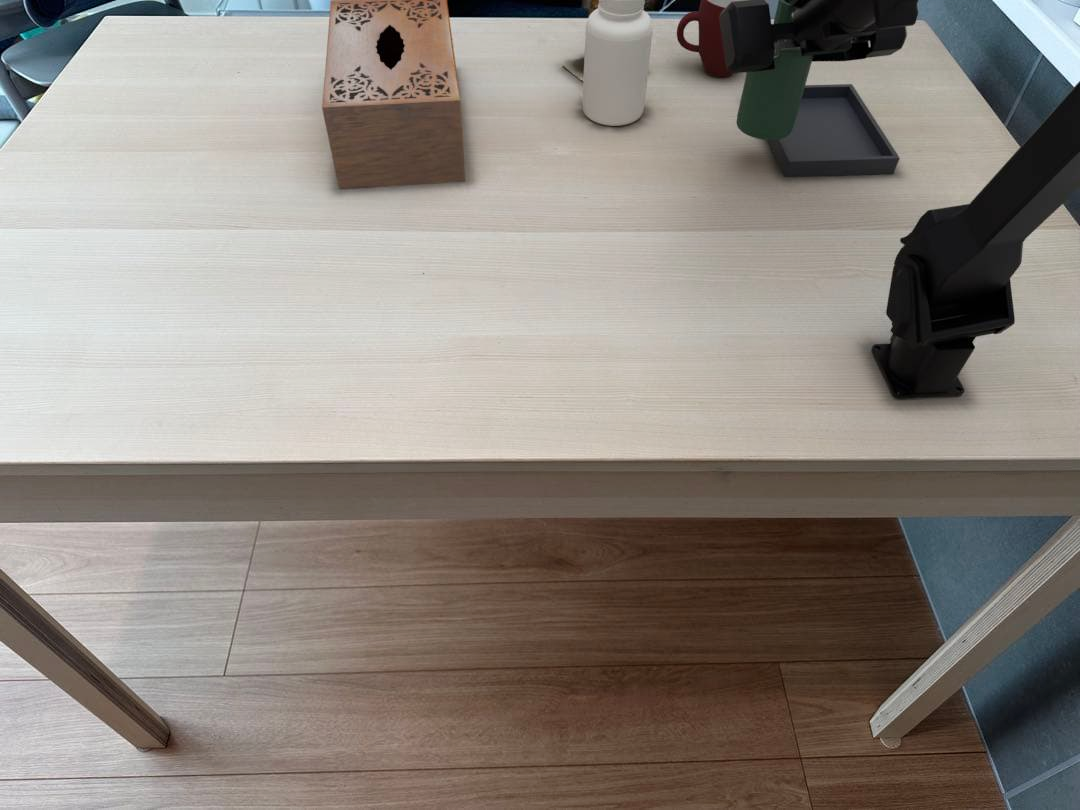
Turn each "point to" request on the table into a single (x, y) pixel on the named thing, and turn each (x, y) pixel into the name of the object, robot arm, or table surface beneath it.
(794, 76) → the bottle
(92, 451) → the table surface
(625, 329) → the table surface
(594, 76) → the pill bottle
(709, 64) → the mug
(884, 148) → the tray
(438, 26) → the tissue box cover
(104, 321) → the table surface
